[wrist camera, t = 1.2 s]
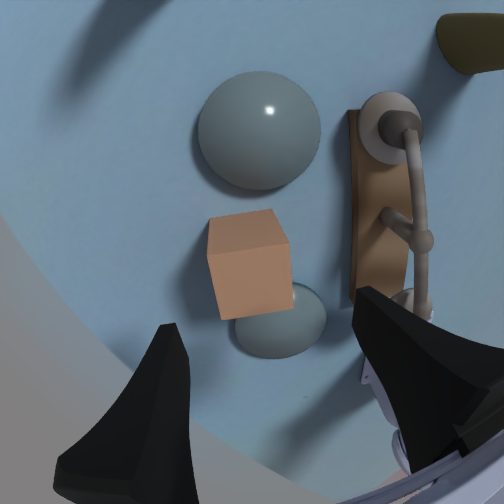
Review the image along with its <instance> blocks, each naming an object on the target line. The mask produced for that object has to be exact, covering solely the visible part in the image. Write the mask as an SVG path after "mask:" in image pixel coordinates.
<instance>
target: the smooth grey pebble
mask: <svg viewBox="0 0 504 504" xmlns="http://www.w3.org/2000/svg"><path fill="white" fill-rule="evenodd" d="M292 288H293V304H294V309H289V310H283V311H277V312H272V313H266V314H260V315H253V316H247V317H241V318H235V332H236V337H237V340H238V342H239V343H240V345H241V346H242V347H243V348H244V349H245V350H246V351H247V352H249V353H251V354H253V355H255V356H257V357H261V358H266V359H282V358H288V357H291V356H294V355H297V354H299V353H301V352H303V351H305V350H307V349H308V348H309V347H311V346H312V345H313V344H314V343H315V342H316V341H317V340H318V339H319V337H320V336H321V334H322V333H323V331H324V328H325V325H326V319H327V318H326V311H325V308H324V306H323V304H322V302H321V300H320V298H319V296H318V295H317V294H316V293H315V292H314V291H313V290H312V289H310V288H309V287H307V286H305V285H302V284H299V283H294V282H292Z"/></svg>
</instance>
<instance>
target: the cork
mask: <svg viewBox="0 0 504 504" xmlns="http://www.w3.org/2000/svg"><path fill="white" fill-rule="evenodd" d="M436 32H437V40H438V43H439V46H440V49H441V51H442V53H443V55H444V57H445V58H446V60H447V61H448V62H449V63H450V65H451V66H452V67H453V68H454V69H456V70H457V71H458V72H460V73H463V74H465V75H470V74H477V73H483V72H489V71H495V70H502V69H504V14H498V13H452V14H445V15H443V16H441V18H440V19H439V20H438V23H437V27H436Z"/></svg>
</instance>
